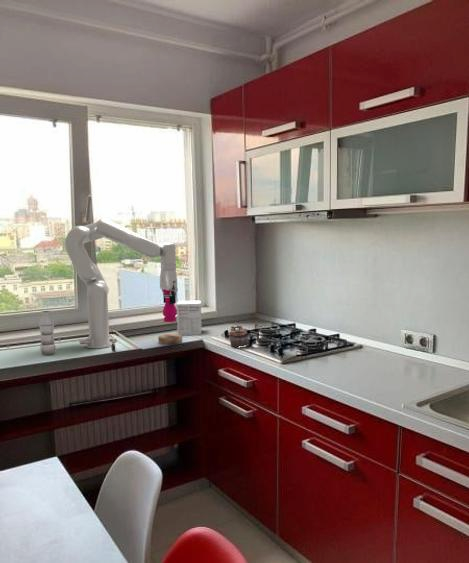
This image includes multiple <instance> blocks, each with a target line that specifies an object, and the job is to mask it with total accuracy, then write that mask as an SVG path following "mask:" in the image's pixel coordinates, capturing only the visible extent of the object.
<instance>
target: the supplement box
mask: <svg viewBox="0 0 469 563" xmlns="http://www.w3.org/2000/svg"><path fill="white" fill-rule="evenodd" d="M176 310H177V314H176V316H177V317H176V321H177V322H176V323H177V334H179V335H182V336H199V335H202V301H201V300H178V302H177V303H176Z"/></svg>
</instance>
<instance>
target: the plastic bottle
mask: <svg viewBox="0 0 469 563" xmlns="http://www.w3.org/2000/svg"><path fill="white" fill-rule="evenodd" d="M38 326H39V332H40V349H39V350H40V353H41V355H45V356H49V355H54V354H55V352H56V344H55V339H54V329H55V322H54V319H53V318H52V317H51V310H43V311H41V318H40V319H39V321H38Z"/></svg>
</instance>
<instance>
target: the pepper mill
mask: <svg viewBox="0 0 469 563" xmlns="http://www.w3.org/2000/svg"><path fill="white" fill-rule="evenodd" d="M173 289H174V288H173ZM173 289H171V290H173ZM163 292H164V293H165V295H164V296H165V303H164V306H163V309H162V316H164V318H163V323H173V322H174V323H175V322H176V321H177V317H176V316H177V306H176V304H170V303H169V296H170V291H169V290H165V289H163ZM163 292H162V293H163Z"/></svg>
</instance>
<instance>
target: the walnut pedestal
mask: <svg viewBox="0 0 469 563" xmlns="http://www.w3.org/2000/svg"><path fill="white" fill-rule="evenodd" d="M157 342H158V344H160V345H166V346H167V345H169V346H170V345H178V344H181V343H183V335H179V334H178V333H166V334H161V335H159V336H158V337H157Z"/></svg>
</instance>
